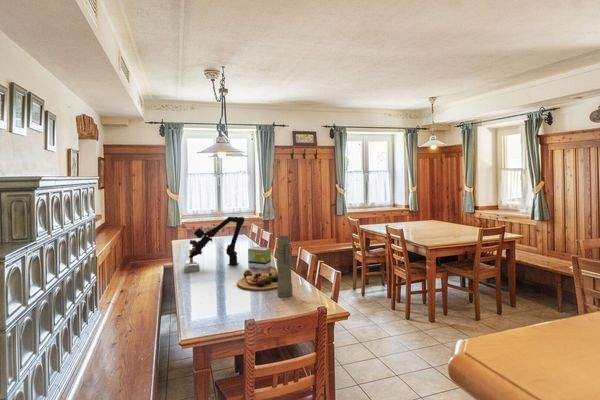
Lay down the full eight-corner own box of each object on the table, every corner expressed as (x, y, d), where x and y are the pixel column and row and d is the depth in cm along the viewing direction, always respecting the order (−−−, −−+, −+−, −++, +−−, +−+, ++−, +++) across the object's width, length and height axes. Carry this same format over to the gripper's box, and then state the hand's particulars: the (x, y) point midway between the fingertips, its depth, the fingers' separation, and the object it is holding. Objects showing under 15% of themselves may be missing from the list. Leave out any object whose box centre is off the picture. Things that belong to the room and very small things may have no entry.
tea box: (248, 267, 289) (247, 248, 288) (254, 264, 298) (253, 246, 297) (265, 269, 283) (265, 249, 282) (271, 266, 292) (271, 247, 291)
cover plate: (196, 263, 293) (196, 249, 292) (186, 264, 290) (185, 250, 290) (196, 261, 302) (195, 247, 302) (186, 262, 300) (185, 248, 299)
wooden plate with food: (228, 283, 249) (227, 271, 249) (269, 274, 268) (268, 262, 268) (252, 296, 224) (252, 282, 223) (295, 285, 243) (295, 272, 242)
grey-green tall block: (287, 291, 228) (286, 234, 226) (295, 297, 218) (294, 237, 215) (274, 293, 225) (272, 235, 222) (281, 299, 214) (280, 238, 211)
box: (199, 271, 281) (199, 266, 280) (185, 272, 277) (185, 267, 277) (198, 267, 291) (198, 262, 291) (185, 268, 288) (184, 264, 288)
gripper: (194, 234, 303) (180, 248, 299) (196, 237, 285) (182, 253, 282) (204, 242, 306) (191, 257, 303) (207, 246, 289) (193, 262, 286)
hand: (189, 257), depth 293 cm, fingers closed on cover plate, 2 cm apart
